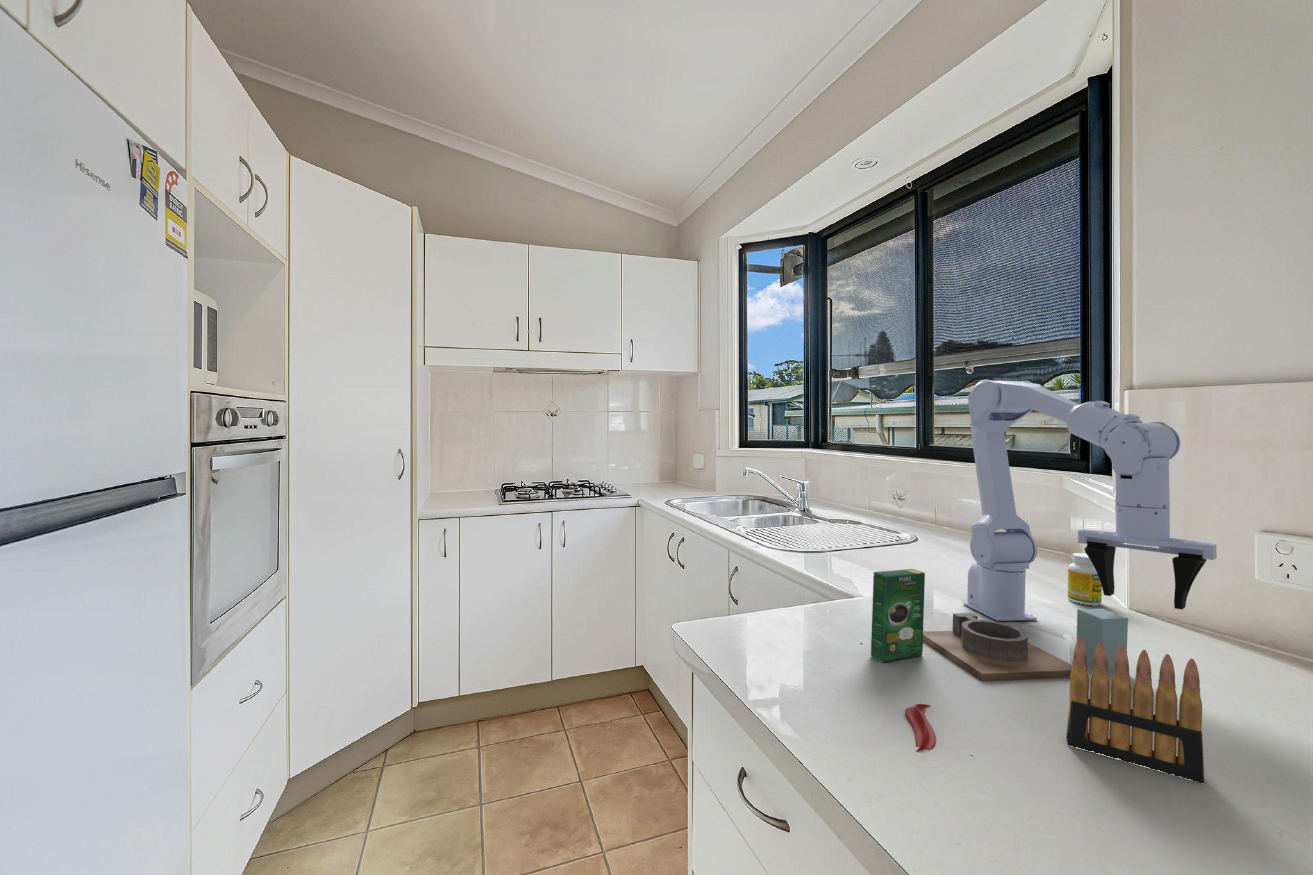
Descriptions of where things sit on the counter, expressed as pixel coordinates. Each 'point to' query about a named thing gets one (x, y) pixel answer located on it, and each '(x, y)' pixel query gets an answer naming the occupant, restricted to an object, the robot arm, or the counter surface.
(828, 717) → the counter surface
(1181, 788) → the counter surface
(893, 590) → the coffee box
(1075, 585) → the supplement bottle
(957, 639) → the cup bracket
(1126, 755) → the ammunition clip
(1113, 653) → the blue-gray rectangular block
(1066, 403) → the robot arm
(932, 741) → the cayenne pepper
